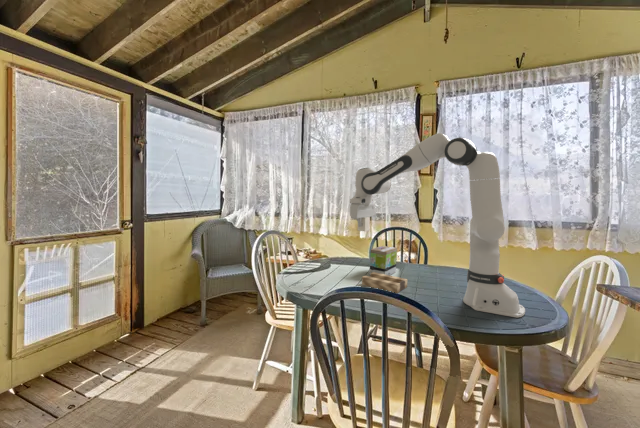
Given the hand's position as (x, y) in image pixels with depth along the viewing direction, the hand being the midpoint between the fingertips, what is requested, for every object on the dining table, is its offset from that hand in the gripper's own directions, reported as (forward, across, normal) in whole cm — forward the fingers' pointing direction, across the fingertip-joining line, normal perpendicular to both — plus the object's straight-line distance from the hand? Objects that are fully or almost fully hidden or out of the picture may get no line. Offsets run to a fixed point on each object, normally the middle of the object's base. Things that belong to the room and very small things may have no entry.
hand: (363, 226), depth 157 cm
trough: (+29, +2, +14) cm, 32 cm away
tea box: (+29, -18, +3) cm, 34 cm away
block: (+2, 0, 0) cm, 2 cm away
